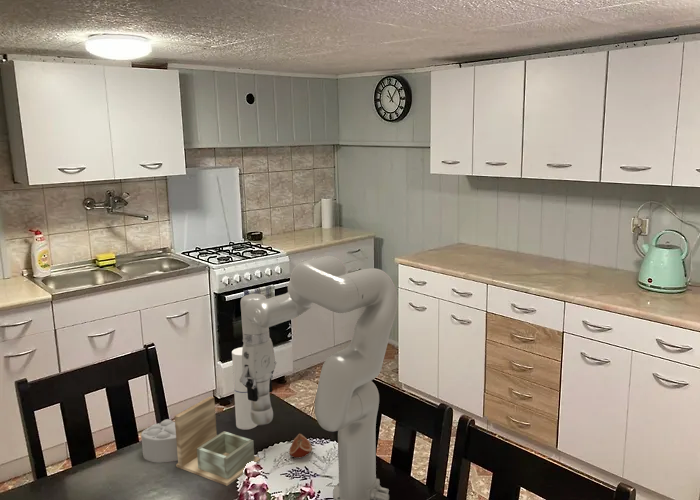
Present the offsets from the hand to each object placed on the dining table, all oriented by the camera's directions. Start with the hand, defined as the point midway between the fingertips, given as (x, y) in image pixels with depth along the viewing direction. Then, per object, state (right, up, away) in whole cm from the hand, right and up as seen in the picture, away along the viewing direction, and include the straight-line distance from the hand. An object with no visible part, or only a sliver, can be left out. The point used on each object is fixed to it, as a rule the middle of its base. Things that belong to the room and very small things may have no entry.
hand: (260, 395), depth 168 cm
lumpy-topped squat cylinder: (-28, -18, +1) cm, 33 cm away
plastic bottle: (0, -9, +1) cm, 9 cm away
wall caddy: (-11, -18, -5) cm, 22 cm away
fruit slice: (+12, -17, -1) cm, 21 cm away
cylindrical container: (-7, -14, +18) cm, 24 cm away
